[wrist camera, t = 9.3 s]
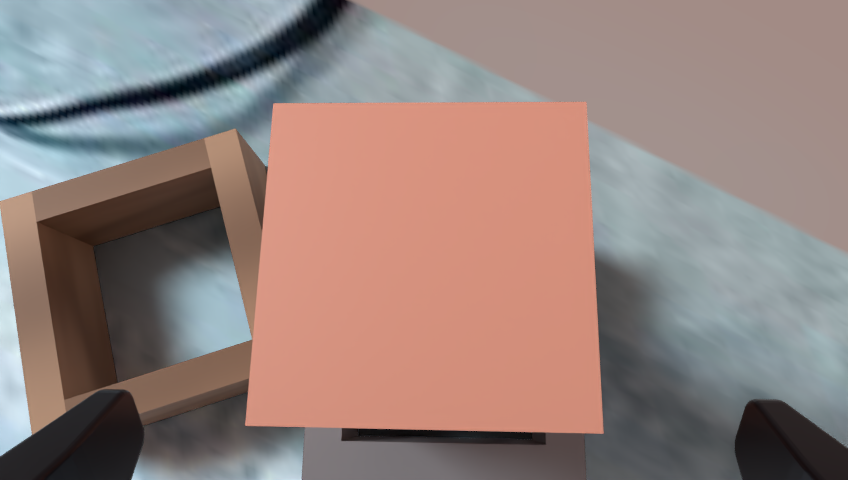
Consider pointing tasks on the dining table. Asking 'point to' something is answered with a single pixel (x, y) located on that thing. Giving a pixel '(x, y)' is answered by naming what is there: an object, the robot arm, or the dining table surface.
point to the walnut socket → (79, 283)
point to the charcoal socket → (441, 457)
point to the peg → (427, 269)
